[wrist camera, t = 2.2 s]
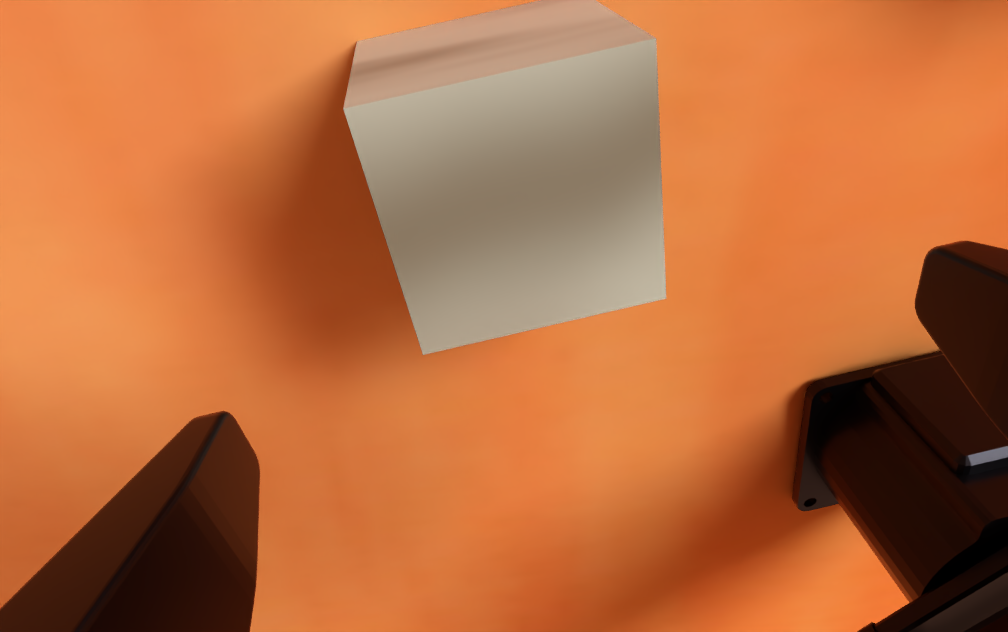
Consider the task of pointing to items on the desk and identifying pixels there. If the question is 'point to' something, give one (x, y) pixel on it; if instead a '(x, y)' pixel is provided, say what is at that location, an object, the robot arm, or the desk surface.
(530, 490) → the desk surface
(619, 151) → the cube block
